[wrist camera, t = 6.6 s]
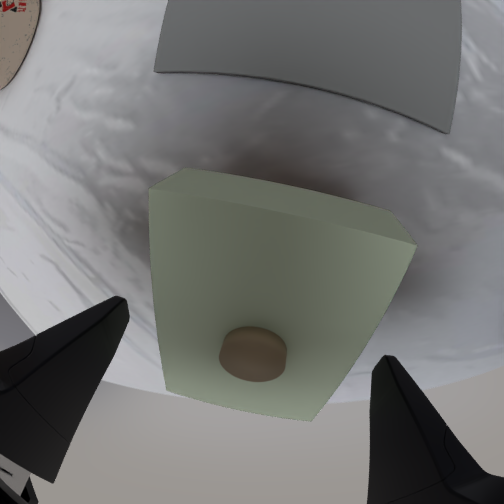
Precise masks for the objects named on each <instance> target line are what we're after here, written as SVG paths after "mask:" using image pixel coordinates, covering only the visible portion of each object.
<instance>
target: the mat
mask: <svg viewBox="0 0 504 504" xmlns="http://www.w3.org/2000/svg"><path fill="white" fill-rule="evenodd" d="M461 40H462V14H461V0H168V3H167V7H166V11H165V15H164V20H163V24H162V29H161V33H160V38H159V43H158V49H157V54H156V60H155V66H154V72H157V73H209V74H225V75H237V76H246V77H255V78H262V79H269V80H276V81H282V82H287V83H293V84H298V85H303V86H308V87H312V88H317V89H321V90H325V91H329V92H333V93H337V94H340V95H344V96H347V97H351V98H354V99H358V100H361V101H364V102H367V103H370V104H373V105H376V106H379V107H382V108H385V109H388V110H390V111H393V112H396V113H398V114H401V115H403V116H406V117H408V118H411V119H413V120H415V121H418V122H420V123H422V124H425V125H427V126H429V127H431V128H433V129H436V130H438V131H440V132H442V133H445V134H449V133H450V129H451V124H452V119H453V114H454V108H455V102H456V95H457V88H458V80H459V71H460V59H461Z"/></svg>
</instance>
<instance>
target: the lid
mask: <svg viewBox="0 0 504 504" xmlns="http://www.w3.org/2000/svg"><path fill="white" fill-rule="evenodd" d="M149 244H150V264H151V279H152V291H153V301H154V311H155V320H156V328H157V336H158V343H159V350H160V356H161V363H162V369H163V374H164V380H165V385H166V390H167V391H170V392H173V393H176V394H179V395H182V396H186V397H189V398H192V399H196V400H200V401H203V402H207V403H211V404H214V405H219V406H223V407H227V408H231V409H236V410H240V411H245V412H251V413H255V414H261V415H267V416H272V417H279V418H286V419H293V420H302V421H312V420H313V419H314V418H315V416H316V415H317V414H318V413H319V411H320V410H321V409H322V408H323V406H324V405H325V404H326V402H327V401H328V400H329V399H330V397H331V396H332V395H333V393H334V392H335V390H336V389H337V388H338V386H339V385H340V384H341V382H342V381H343V379H344V378H345V376H346V375H347V374H348V372H349V371H350V369H351V368H352V366H353V365H354V363H355V362H356V360H357V359H358V357H359V356H360V354H361V352H362V351H363V349H364V348H365V346H366V345H367V343H368V341H369V340H370V338H371V336H372V335H373V333H374V331H375V330H376V328H377V326H378V324H379V323H380V321H381V319H382V317H383V316H384V314H385V312H386V310H387V308H388V306H389V305H390V303H391V301H392V299H393V297H394V295H395V293H396V291H397V289H398V287H399V285H400V283H401V281H402V279H403V277H404V275H405V273H406V271H407V268H408V266H409V264H410V262H411V260H412V257H413V255H414V253H415V251H416V248H417V246H418V245H417V244H416V243H415V241H414V240H413V239H412V238H411V236H410V235H409V234H408V232H407V231H406V230H405V229H404V227H403V226H402V225H401V223H400V222H399V221H398V220H397V219H396V217H395V216H394V215H393V214H392V213H391V211H389V210H386V209H382V208H379V207H375V206H372V205H368V204H364V203H361V202H357V201H353V200H349V199H345V198H341V197H338V196H333V195H329V194H325V193H321V192H317V191H313V190H308V189H304V188H299V187H295V186H290V185H285V184H280V183H275V182H270V181H265V180H260V179H255V178H249V177H244V176H238V175H232V174H226V173H220V172H214V171H207V170H200V169H193V168H184V169H182V170H180V171H178V172H176V173H175V174H173V175H171V176H169V177H168V178H166V179H164V180H162V181H161V182H159V183H157V184H155V185H154V186H152V187H150V188H149Z"/></svg>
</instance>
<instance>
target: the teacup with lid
mask: <svg viewBox="0 0 504 504" xmlns="http://www.w3.org/2000/svg"><path fill="white" fill-rule="evenodd" d="M39 6H40V4H39V0H0V89H2V88H3V87H4V86H6V85H7V84H8V83H9V81H10V80H11V79H12V78H13V76H14V75H15V73H16V72H17V70H18V68H19V67H20V65H21V63H22V61H23V59H24V57H25V55H26V53H27V50H28V48H29V46H30V43H31V40H32V38H33V35H34V32H35V28H36V25H37V21H38V16H39Z"/></svg>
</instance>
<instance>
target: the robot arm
mask: <svg viewBox="0 0 504 504" xmlns="http://www.w3.org/2000/svg"><path fill="white" fill-rule="evenodd" d="M129 318H130V315H129V310H128V304H127V300H126V299H125V298H122V297H119V296H114V297H112V298H109V299H107V300H105V301H103V302H101V303H99V304H97V305H95V306H93V307H91V308H89V309H87V310H85V311H83V312H81V313H79V314H77V315H75V316H73V317H71V318H69V319H67V320H65V321H63V322H61V323H59V324H57V325H55V326H53V327H51V328H49V329H47V330H45V331H43V332H41V333H39V334H37V336H33V337H31V338H29V339H27V340H25V341H23V342H21V343H19V344H17V345H15V346H12V347H10V348H8V349H5V350H3V351H0V504H38V499H37V497H36V494H35V492H34V488H33V486H32V483H31V480H30V474H31V473H33V474H35V475H36V476H39V477H40V478H42V479H44V480H46V481H48V482H50V483H54V481H55V479H56V477H57V474H58V472H59V469H60V467H61V464H62V462H63V459H64V457H65V455H66V452H67V450H68V448H69V445H70V443H71V441H72V438H73V436H74V434H75V432H76V430H77V427H78V425H79V423H80V421H81V419H82V417H83V415H84V413H85V411H86V409H87V407H88V404H89V403H90V400H91V399H92V397H93V395H94V393H95V391H96V389H97V387H98V385H99V383H100V381H101V379H102V377H103V376H104V374H105V372H106V370H107V368H108V366H109V364H110V363H111V361H112V359H113V357H114V355H115V353H116V350H117V348H118V345H119V343H120V341H121V338H122V336H123V334H124V331H125V329H126V327H127V324H128V322H129ZM369 464H370V465H369V484H368V498H367V504H504V477H500V476H495V475H491V474H489V473H487V472H485V471H484V470H483V469H482V468H481V467H480V466H479V465H478V463H477V462H476V461H475V460H474V459H473V457H472V456H471V455H470V454H469V453H468V452H467V450H466V449H465V448H464V447H463V445H462V444H461V443H460V442H459V440H458V439H457V438H456V436H455V435H454V434H453V432H452V431H451V430H450V428H449V427H448V426H446V423H445V421H444V420H443V419H442V417H441V416H440V414H439V413H438V412H437V410H436V409H435V408H434V406H433V405H432V404H431V403H430V401H429V400H428V398H427V397H426V396H425V394H424V393H423V392H422V390H421V389H420V388H419V386H418V385H417V384H416V383H415V381H414V380H413V379H412V377H411V376H410V375H409V374H408V372H407V371H406V370H405V368H404V367H403V366H402V365H401V363H400V362H399V361H398V360H397V358H396V357H395V356H390V355H384V356H383V357H382V358H381V359H380V361H379V362H378V363H377V365H376V366H375V367H374V369H373V371H372V379H371V397H370V463H369Z"/></svg>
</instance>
